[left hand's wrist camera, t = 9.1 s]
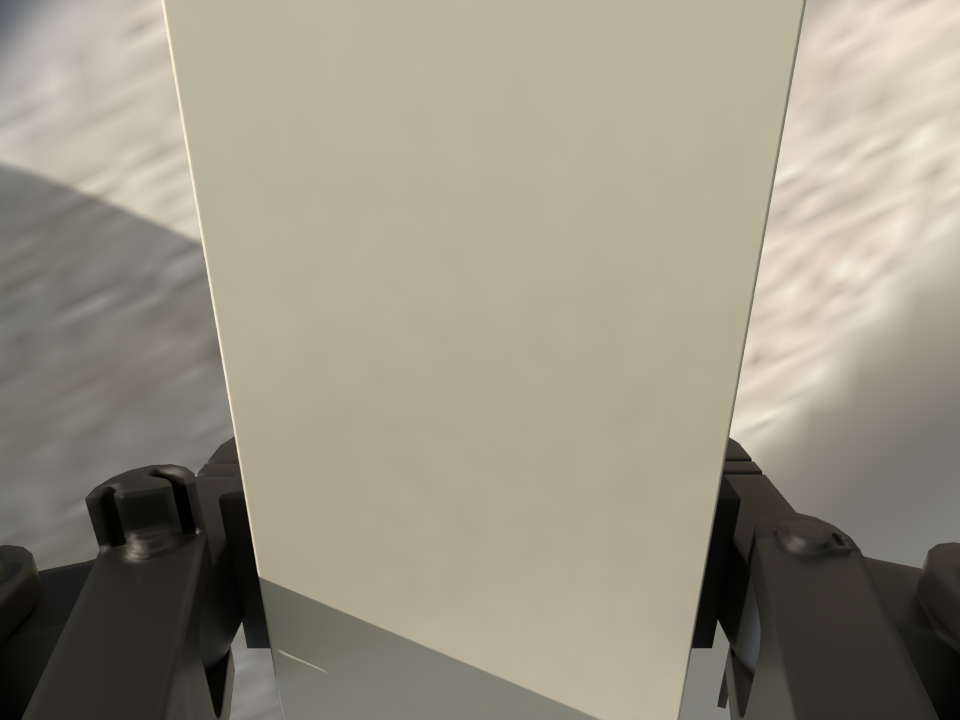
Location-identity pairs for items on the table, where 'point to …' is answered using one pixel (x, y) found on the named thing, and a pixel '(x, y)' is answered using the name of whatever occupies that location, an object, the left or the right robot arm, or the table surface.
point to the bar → (482, 331)
